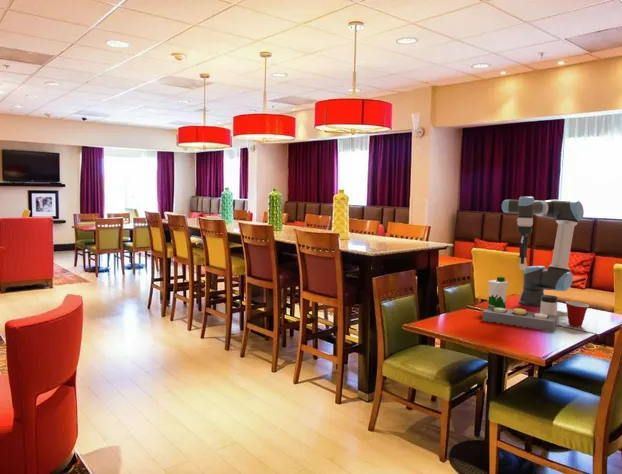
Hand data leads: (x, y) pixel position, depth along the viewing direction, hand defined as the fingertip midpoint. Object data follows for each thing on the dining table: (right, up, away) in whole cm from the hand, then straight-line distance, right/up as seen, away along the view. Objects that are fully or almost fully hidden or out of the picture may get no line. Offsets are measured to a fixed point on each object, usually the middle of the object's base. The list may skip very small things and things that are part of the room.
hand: (522, 269), depth 266 cm
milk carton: (-9, -25, +13) cm, 30 cm away
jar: (+15, -27, +2) cm, 31 cm away
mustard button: (-5, -22, -9) cm, 25 cm away
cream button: (+3, -24, -14) cm, 28 cm away
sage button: (-14, -23, -4) cm, 27 cm away
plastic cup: (+22, -28, -12) cm, 38 cm away
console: (-5, -27, -9) cm, 29 cm away
